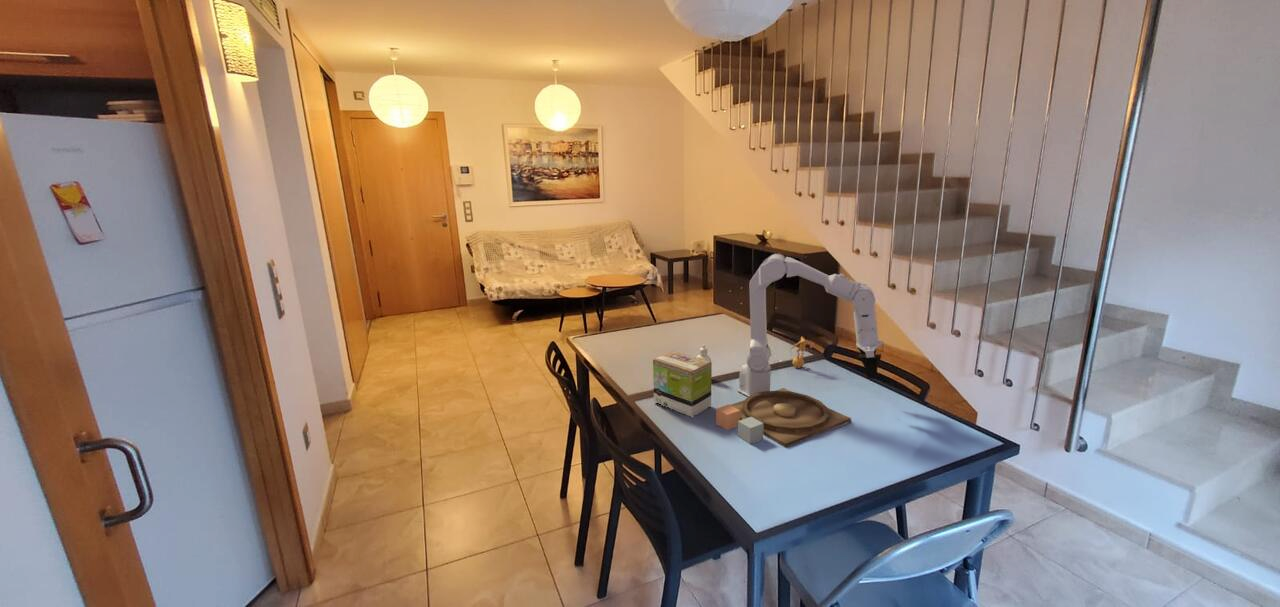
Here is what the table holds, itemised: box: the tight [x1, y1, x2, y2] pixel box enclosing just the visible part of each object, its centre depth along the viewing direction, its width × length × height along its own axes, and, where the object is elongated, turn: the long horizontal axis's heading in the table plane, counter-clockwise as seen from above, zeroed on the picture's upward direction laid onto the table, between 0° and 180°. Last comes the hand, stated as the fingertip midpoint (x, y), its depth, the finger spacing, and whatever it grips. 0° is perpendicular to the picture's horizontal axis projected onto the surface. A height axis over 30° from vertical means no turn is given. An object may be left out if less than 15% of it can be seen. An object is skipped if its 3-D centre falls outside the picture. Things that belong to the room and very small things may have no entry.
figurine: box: [789, 336, 813, 369], centre depth 179 cm, size 8×6×12 cm
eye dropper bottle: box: [696, 344, 712, 362], centre depth 173 cm, size 4×6×12 cm
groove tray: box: [730, 387, 852, 448], centre depth 146 cm, size 25×25×2 cm
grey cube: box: [737, 417, 764, 445], centre depth 134 cm, size 5×5×5 cm
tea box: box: [652, 350, 713, 418], centre depth 153 cm, size 15×10×15 cm
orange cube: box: [715, 404, 740, 431], centre depth 142 cm, size 5×5×5 cm
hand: (871, 372), depth 148 cm, fingers open, 7 cm apart
